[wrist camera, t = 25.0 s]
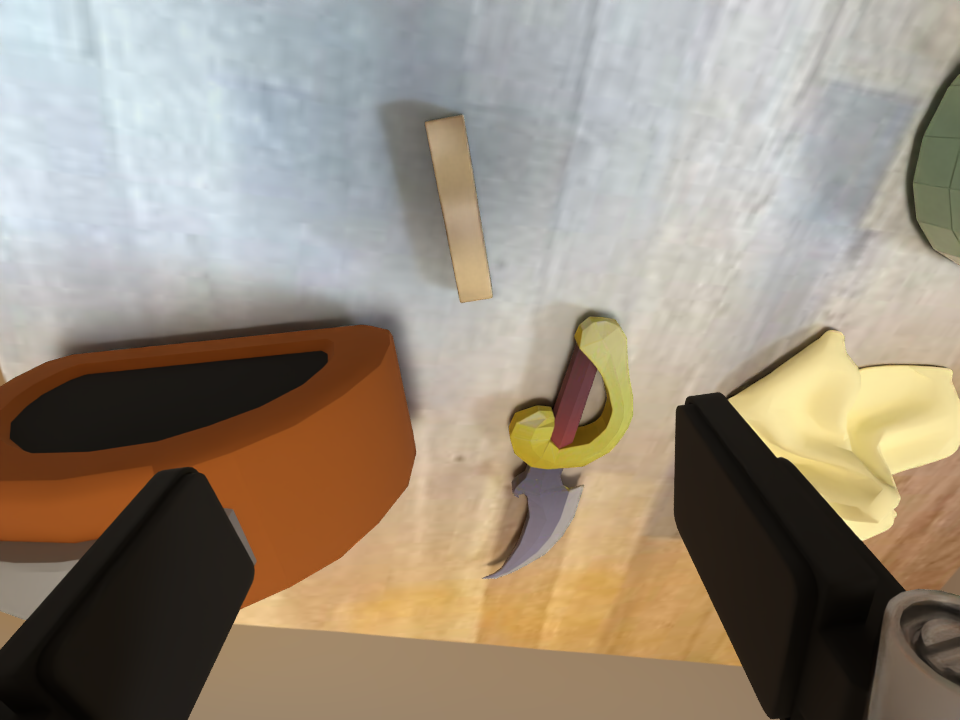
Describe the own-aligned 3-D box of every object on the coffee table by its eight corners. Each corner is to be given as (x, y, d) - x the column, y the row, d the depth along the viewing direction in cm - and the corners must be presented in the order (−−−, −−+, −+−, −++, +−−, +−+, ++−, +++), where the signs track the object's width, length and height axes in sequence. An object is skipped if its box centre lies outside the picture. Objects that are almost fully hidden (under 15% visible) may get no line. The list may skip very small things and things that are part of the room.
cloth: (760, 314, 32) (818, 357, 27) (1012, 358, 34) (1116, 407, 28) (647, 552, 42) (673, 618, 37) (846, 577, 44) (899, 644, 38)
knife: (549, 576, 43) (659, 324, 32) (553, 603, 41) (674, 341, 30) (463, 562, 43) (546, 299, 31) (462, 589, 40) (552, 314, 29)
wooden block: (427, 120, 27) (423, 121, 25) (463, 114, 27) (462, 114, 25) (461, 292, 31) (460, 303, 29) (492, 287, 31) (492, 298, 29)
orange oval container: (402, 310, 32) (336, 488, 17) (424, 423, 36) (386, 647, 21) (59, 346, 33) (-286, 543, 18) (118, 452, 37) (-122, 684, 22)
